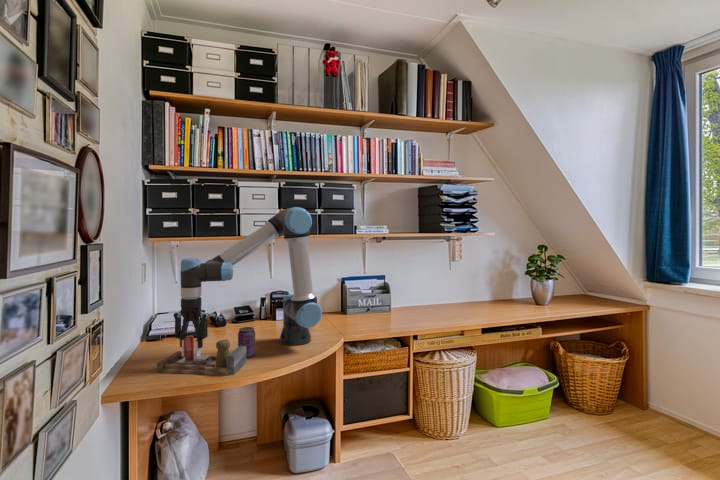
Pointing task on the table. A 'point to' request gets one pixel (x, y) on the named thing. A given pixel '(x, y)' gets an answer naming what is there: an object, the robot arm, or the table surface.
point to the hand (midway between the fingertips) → (191, 355)
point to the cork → (222, 353)
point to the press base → (233, 364)
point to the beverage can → (247, 340)
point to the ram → (189, 354)
